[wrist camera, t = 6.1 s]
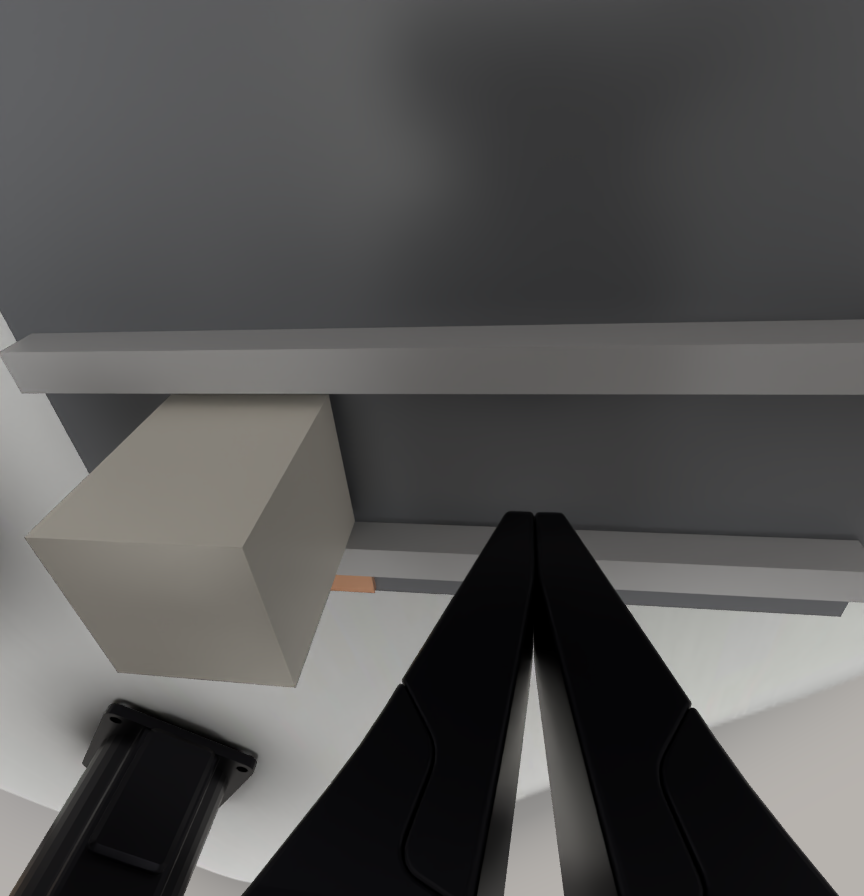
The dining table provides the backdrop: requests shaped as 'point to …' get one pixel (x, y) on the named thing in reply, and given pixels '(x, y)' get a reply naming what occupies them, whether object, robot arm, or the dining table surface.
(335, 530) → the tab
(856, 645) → the dining table surface
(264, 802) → the dining table surface
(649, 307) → the switch panel
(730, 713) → the dining table surface
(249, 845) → the dining table surface
